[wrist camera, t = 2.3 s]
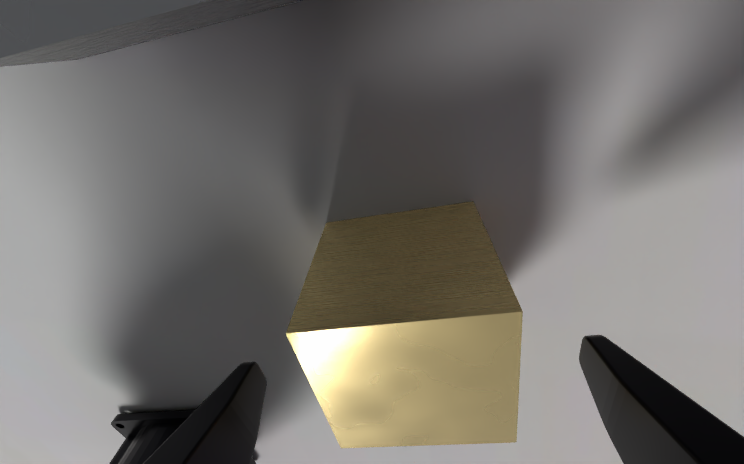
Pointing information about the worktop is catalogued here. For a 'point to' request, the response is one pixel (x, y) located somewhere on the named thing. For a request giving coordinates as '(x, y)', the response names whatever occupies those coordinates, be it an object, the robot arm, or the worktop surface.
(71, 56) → the grey flat block
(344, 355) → the brass cuboid
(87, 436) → the worktop surface
